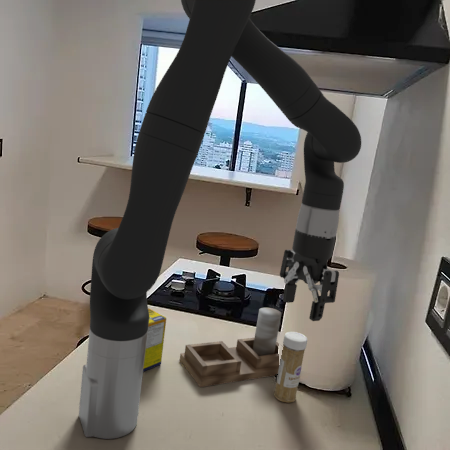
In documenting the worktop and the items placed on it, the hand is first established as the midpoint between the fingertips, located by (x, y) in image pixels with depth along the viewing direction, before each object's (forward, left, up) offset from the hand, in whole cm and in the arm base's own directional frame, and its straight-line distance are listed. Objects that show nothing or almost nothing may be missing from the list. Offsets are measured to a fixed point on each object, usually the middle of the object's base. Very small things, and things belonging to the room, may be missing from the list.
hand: (301, 310), depth 89 cm
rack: (-4, +13, -19) cm, 23 cm away
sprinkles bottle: (0, 0, -19) cm, 19 cm away
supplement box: (-24, +19, -19) cm, 36 cm away
